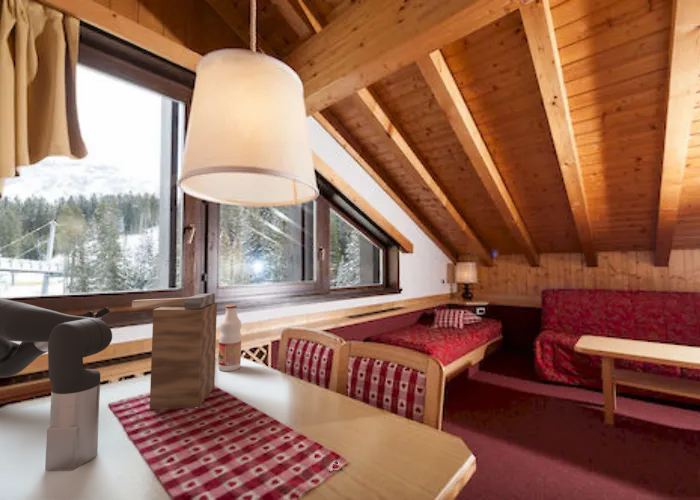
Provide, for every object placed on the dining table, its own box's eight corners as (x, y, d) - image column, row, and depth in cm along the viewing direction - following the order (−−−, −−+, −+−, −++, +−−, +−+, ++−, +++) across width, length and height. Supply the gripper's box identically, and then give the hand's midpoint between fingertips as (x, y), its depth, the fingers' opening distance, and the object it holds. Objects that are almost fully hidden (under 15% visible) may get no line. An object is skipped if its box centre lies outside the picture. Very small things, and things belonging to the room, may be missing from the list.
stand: (198, 408, 110) (201, 309, 111) (149, 409, 109) (153, 309, 110) (214, 387, 128) (216, 302, 129) (172, 388, 127) (175, 302, 128)
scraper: (200, 308, 112) (199, 297, 112) (120, 312, 110) (120, 301, 110) (214, 302, 128) (214, 293, 128) (145, 305, 126) (145, 296, 126)
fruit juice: (235, 372, 146) (237, 307, 147) (214, 371, 147) (216, 306, 148) (243, 365, 155) (245, 304, 156) (224, 364, 156) (225, 303, 157)
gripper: (33, 330, 107) (81, 304, 109) (65, 321, 122) (108, 299, 123) (44, 350, 108) (93, 325, 109) (76, 340, 122) (118, 317, 124)
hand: (101, 311), depth 116 cm, fingers open, 8 cm apart
